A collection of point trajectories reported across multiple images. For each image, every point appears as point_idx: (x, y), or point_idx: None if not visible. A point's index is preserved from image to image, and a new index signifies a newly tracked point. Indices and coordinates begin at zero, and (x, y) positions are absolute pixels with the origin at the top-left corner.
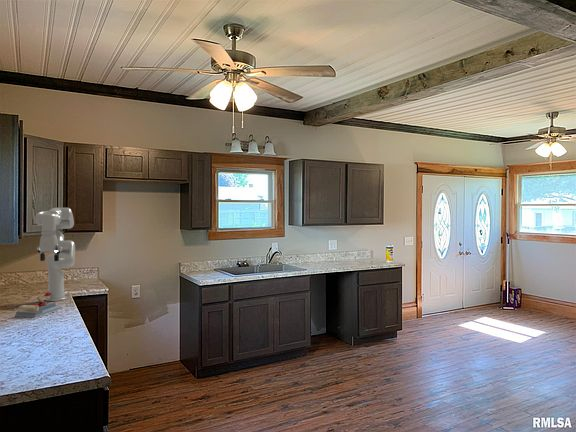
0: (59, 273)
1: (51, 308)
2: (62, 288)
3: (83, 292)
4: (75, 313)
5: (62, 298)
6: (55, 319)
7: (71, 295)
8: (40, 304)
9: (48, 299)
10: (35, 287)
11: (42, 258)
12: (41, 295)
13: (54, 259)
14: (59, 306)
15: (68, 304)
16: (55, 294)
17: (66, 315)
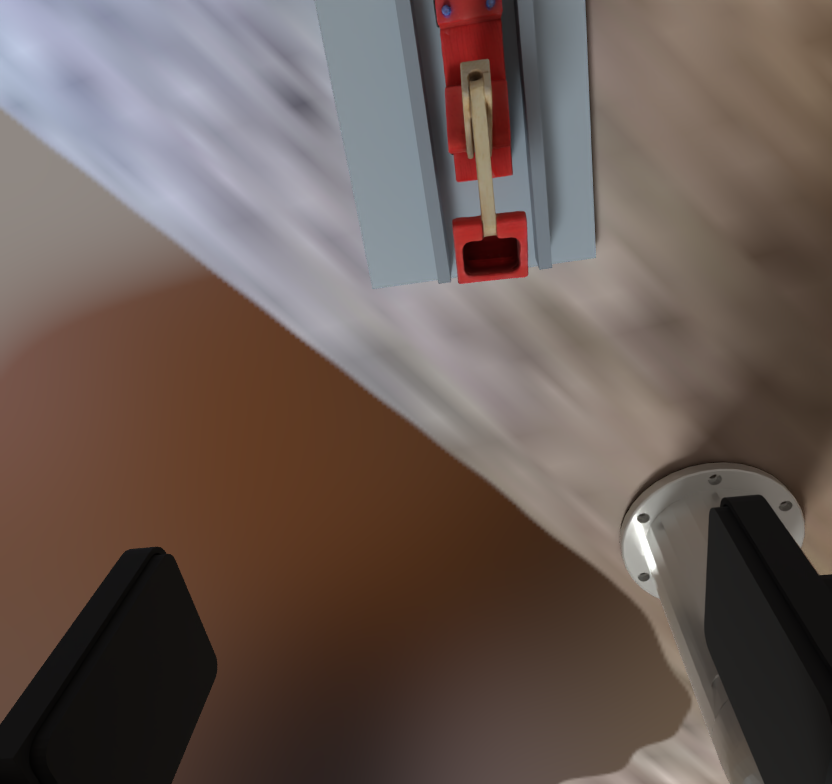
0: (746, 758)
1: (397, 179)
2: (669, 617)
3: (658, 751)
4: (44, 134)
5: (628, 532)
6: None
7: (682, 665)
8: (459, 86)
9: (740, 474)
10: None
11: (742, 606)
12: (475, 129)
13: (136, 586)
14: (391, 276)
15: (434, 410)
16: (691, 529)
17: (43, 29)
